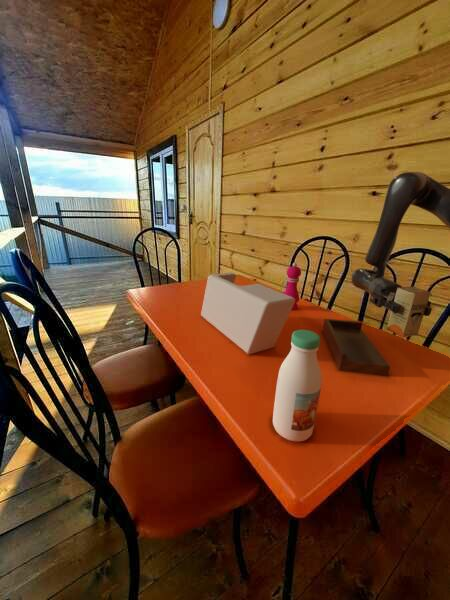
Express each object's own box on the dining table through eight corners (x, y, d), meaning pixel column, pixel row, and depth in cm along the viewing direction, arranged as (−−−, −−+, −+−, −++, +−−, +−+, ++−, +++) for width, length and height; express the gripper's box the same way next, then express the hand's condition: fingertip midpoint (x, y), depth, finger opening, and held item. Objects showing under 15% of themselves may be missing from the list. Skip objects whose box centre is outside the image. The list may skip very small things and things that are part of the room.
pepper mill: (280, 309, 110) (285, 263, 104) (282, 303, 117) (286, 260, 110) (297, 311, 108) (303, 265, 102) (298, 305, 115) (304, 262, 108)
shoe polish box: (386, 328, 70) (397, 287, 66) (400, 327, 71) (412, 286, 67) (402, 337, 66) (415, 293, 62) (417, 335, 67) (430, 292, 63)
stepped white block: (264, 369, 85) (297, 298, 67) (238, 378, 80) (266, 304, 62) (222, 311, 105) (240, 245, 87) (199, 315, 100) (213, 246, 82)
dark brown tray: (358, 334, 89) (361, 321, 87) (387, 376, 66) (392, 359, 65) (322, 331, 90) (324, 318, 89) (339, 370, 68) (342, 354, 66)
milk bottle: (272, 439, 47) (284, 343, 40) (271, 409, 54) (281, 323, 47) (316, 446, 46) (336, 348, 39) (308, 414, 53) (324, 327, 46)
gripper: (363, 278, 79) (385, 294, 64) (414, 281, 77) (449, 299, 62) (358, 301, 82) (379, 322, 66) (407, 304, 80) (440, 327, 64)
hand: (412, 311), depth 64 cm, fingers closed on shoe polish box, 6 cm apart
